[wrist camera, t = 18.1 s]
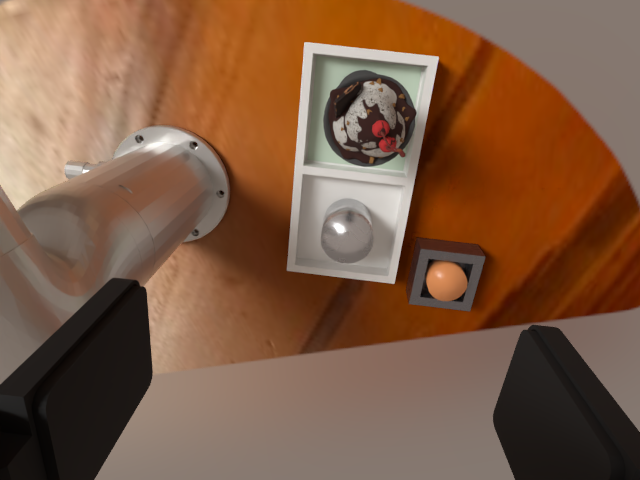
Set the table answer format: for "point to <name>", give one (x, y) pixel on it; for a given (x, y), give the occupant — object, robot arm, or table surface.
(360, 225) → the cylinder
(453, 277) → the button cap
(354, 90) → the sundae
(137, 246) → the robot arm
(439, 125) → the table surface
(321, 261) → the shallow white tray
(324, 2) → the table surface
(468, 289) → the button housing
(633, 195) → the table surface
